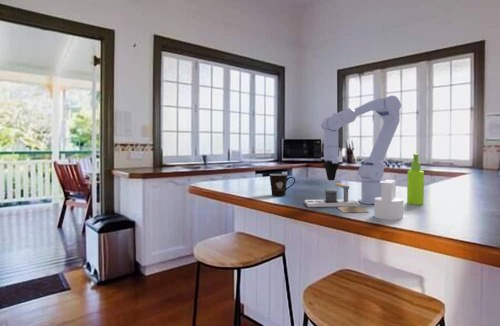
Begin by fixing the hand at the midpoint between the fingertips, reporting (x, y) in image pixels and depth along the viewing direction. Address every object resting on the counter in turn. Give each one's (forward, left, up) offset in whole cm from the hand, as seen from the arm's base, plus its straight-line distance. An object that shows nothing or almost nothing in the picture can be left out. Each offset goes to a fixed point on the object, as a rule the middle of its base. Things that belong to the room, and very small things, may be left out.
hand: (331, 180), depth 136 cm
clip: (-6, -5, -3) cm, 8 cm away
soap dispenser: (-34, 0, -10) cm, 35 cm away
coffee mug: (+18, -24, -10) cm, 32 cm away
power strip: (0, 0, -10) cm, 10 cm away
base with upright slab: (-14, +23, -10) cm, 29 cm away
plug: (0, 0, -10) cm, 10 cm away
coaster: (-5, +12, -10) cm, 16 cm away
